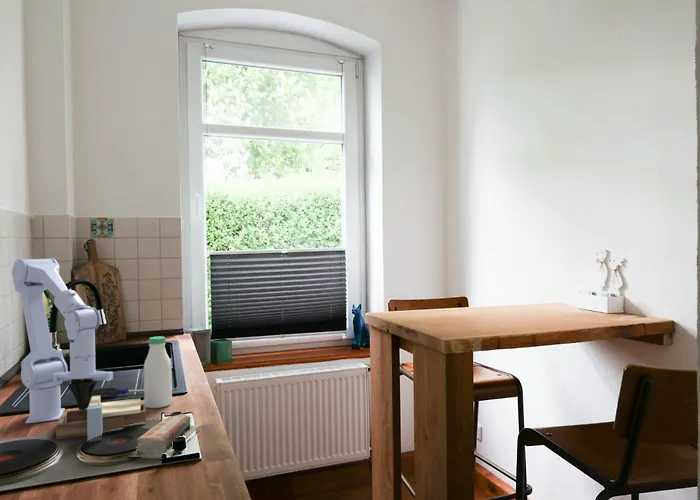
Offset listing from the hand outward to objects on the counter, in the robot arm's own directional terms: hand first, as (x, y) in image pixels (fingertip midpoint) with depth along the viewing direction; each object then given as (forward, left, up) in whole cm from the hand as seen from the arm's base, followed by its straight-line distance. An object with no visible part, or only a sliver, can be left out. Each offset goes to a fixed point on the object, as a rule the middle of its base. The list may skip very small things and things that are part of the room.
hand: (83, 408), depth 128 cm
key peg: (+9, +3, -5) cm, 11 cm away
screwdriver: (-29, +12, -6) cm, 31 cm away
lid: (0, +8, -1) cm, 8 cm away
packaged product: (+19, +19, -6) cm, 27 cm away
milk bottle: (-14, +18, -5) cm, 23 cm away
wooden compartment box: (0, +5, -5) cm, 7 cm away
